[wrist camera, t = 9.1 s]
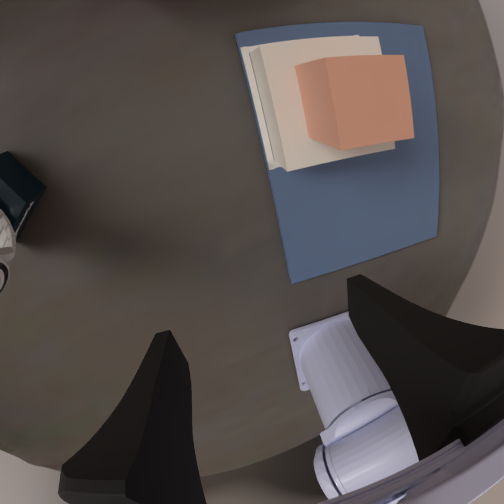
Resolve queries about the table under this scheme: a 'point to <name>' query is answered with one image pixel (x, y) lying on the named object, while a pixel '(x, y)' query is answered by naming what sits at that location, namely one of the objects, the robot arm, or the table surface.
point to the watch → (14, 207)
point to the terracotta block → (356, 100)
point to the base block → (289, 99)
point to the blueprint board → (355, 166)
